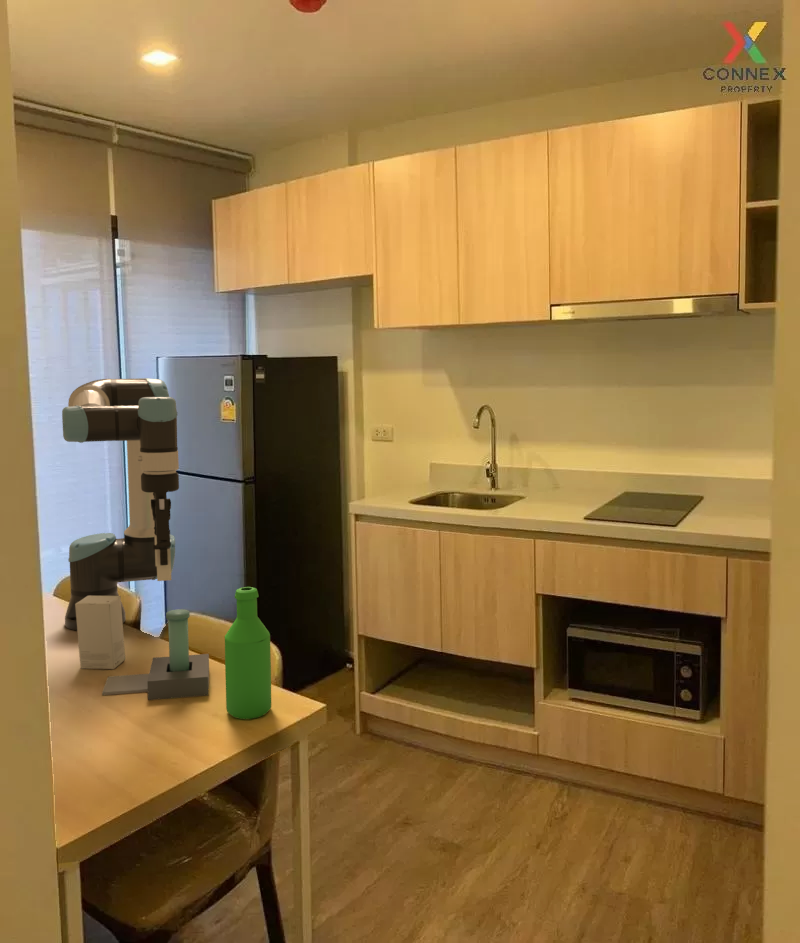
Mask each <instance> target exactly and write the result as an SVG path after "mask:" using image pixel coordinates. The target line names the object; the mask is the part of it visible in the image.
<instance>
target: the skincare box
mask: <svg viewBox="0 0 800 943" xmlns="http://www.w3.org/2000/svg"><path fill="white" fill-rule="evenodd" d="M121 597H122V596H121V595H119V596H87V597H85V598H84V599H82V600H81V601H79V602H77V603H76V604H75V607H76V619H77V630H76V632H77V643H78V652H79V653H78V654H79V665H80V669H82V670H83V669H85V670H86V669H89V670H91V669H93V670H95V669H96V670H114V669H116V668H117V667H118V666H119V665H121V664H122V663H123V662H124V661H125V660H126V653H125V652H126V651H125V649H126V648H125V639H124V638H125V636H124V635H125V634H124V627H123V625H124V622H122V609H121V602H122V598H121Z"/></svg>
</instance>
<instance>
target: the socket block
mask: <svg viewBox="0 0 800 943" xmlns="http://www.w3.org/2000/svg"><path fill="white" fill-rule="evenodd" d="M209 654H210V653H202V654H201V653H200V654H189V671H177V672H170V658H169V656H162V657H161V656H160V657H159V656H158V657H157V656H156V657H152V659H151V665H150V669H149V673H148V674H149V677H148V681H147V683H148V692H147V700H148V701H153V700H167V699H179V698H190V697H204V696H209V690H208V689H209V687H210V686H209V685H210V655H209Z"/></svg>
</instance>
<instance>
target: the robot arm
mask: <svg viewBox="0 0 800 943" xmlns="http://www.w3.org/2000/svg"><path fill="white" fill-rule="evenodd" d="M169 394H170V392H169V389H168V386H167V383H166V382H165V381H164V380H162V379H158V378H148V377H144V378H143V377H142V378H139V377H138V378H102V379H101V378H100V379H95V380H92V381H88V382H86V383H83V384H82V385H79V386H78V387H76V388H75V389H74V390H73V391H72V393H71V394H70V395H69V398H68V404H67V406H65V407H63V409H62V412H61V414H62V415H61V416H62V417H61V418H62V419H61V420H62V421H61V422H62V435H63V436H62V437H63V439H64V441H65V442H69V443H70V442H71V443H81V444H82V443H85V442H87V443H88V442H90V443H91V442H92V443H93V442H115V441H117V442H119V441H120V442H125V441H126V455H127V456H126V458H127V479H128V480H127V482H128V486H127V487H128V510H129V512H128V514H129V516H128V517H129V525H128V527H127V528H125V530H124V531H123V537H122V538H117V536H116V535H115V533H114V532H113V533H112V532H107V533H105V532H102V533H100V532H99V533H96V534H95V533H94V534H90V535H85V536H83V537H79V538H76V539H75V540H73V541H72V542H71V543H70V545H69V548H68V549H69V550H68V551H69V552H68V553H69V555H68V559H67V560H68V563H69V573H70V574H69V578H70V579H69V580H70V581H69V582H70V585H69V586H70V599H69V602H68V606H67V608H66V612H65V616H64V626H65V627H66V628H67V629H68V630H71V631H77V619H76V607H75V604H76V603H77V602H79V601H81V600H82V599H84V598H85V597H87V596H120V595H119V591H118V583H126V582H139V581H150V580H151V581H155V580H156V581H157V582H162V581H172V572H173V570H174V567H175V566H174V565H175V558H176V557H175V556H176V538H175V536H174V535H173V534H171V529H170V520H171V509H172V501H171V498H168V497H167V493H170V492H171V493H173V492H177V491H178V490H179V489H180V479H179V477H180V476H179V473H178V472H177V471H178V470H179V467H180V464H179V450H178V411H177V402H176V399H175V398H174V397H170V395H169ZM121 609H122V622H123V623H125V621H126V611H125V608H124V605H123V602H122V601H121Z"/></svg>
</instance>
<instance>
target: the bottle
mask: <svg viewBox="0 0 800 943" xmlns="http://www.w3.org/2000/svg"><path fill="white" fill-rule="evenodd" d="M257 598H259V591H258V589H257V588H256V587H251V586H245V587H244V586H243V587H240V588H237V589H236V590H235V594H234V599H235V600H236V618H235V620H234V622H232V624H231V626H230V628H228V630H227V632H226V634H225V635H224V668H225V669H224V671H225V672H224V674H225V706H226V708H225V709H226V712H227V713H228V714H229V715H230V716H232V717H233V718H236V719H238V720H239V719H240V720H252V719H257V718H260V717H263V716H264V715H266V714H267V713H268V712H269V711H270V710H271V708H272V667H271V666H272V665H271V662H272V658H271V633H270V631H269V630H268V629H267V628H266V626H265V625H264V623H263V622H262V621H261V619H260V618H259V617H258V599H257Z"/></svg>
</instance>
